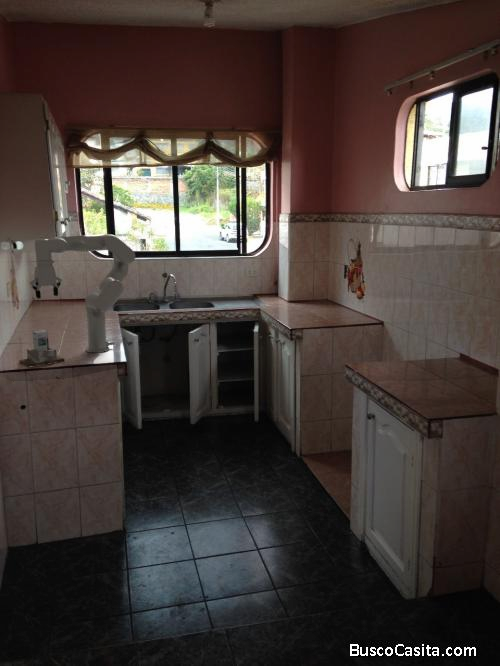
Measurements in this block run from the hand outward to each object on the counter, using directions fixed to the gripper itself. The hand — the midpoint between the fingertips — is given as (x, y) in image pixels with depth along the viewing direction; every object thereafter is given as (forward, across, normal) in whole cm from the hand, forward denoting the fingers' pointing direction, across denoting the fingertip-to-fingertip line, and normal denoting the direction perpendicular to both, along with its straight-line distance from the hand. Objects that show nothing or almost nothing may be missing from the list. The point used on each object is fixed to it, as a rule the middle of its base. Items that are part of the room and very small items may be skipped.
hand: (47, 296), depth 305 cm
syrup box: (+30, +10, +8) cm, 32 cm away
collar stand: (+31, +10, +8) cm, 34 cm away
